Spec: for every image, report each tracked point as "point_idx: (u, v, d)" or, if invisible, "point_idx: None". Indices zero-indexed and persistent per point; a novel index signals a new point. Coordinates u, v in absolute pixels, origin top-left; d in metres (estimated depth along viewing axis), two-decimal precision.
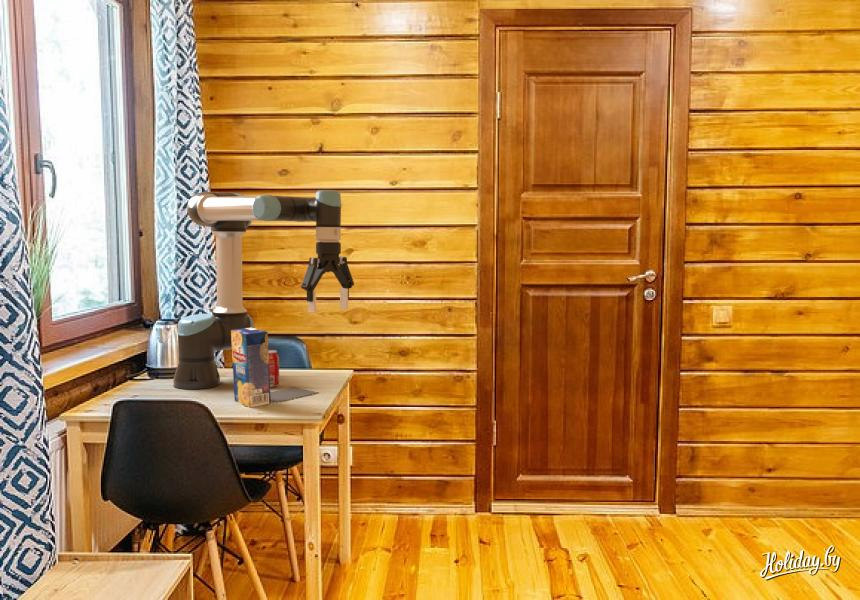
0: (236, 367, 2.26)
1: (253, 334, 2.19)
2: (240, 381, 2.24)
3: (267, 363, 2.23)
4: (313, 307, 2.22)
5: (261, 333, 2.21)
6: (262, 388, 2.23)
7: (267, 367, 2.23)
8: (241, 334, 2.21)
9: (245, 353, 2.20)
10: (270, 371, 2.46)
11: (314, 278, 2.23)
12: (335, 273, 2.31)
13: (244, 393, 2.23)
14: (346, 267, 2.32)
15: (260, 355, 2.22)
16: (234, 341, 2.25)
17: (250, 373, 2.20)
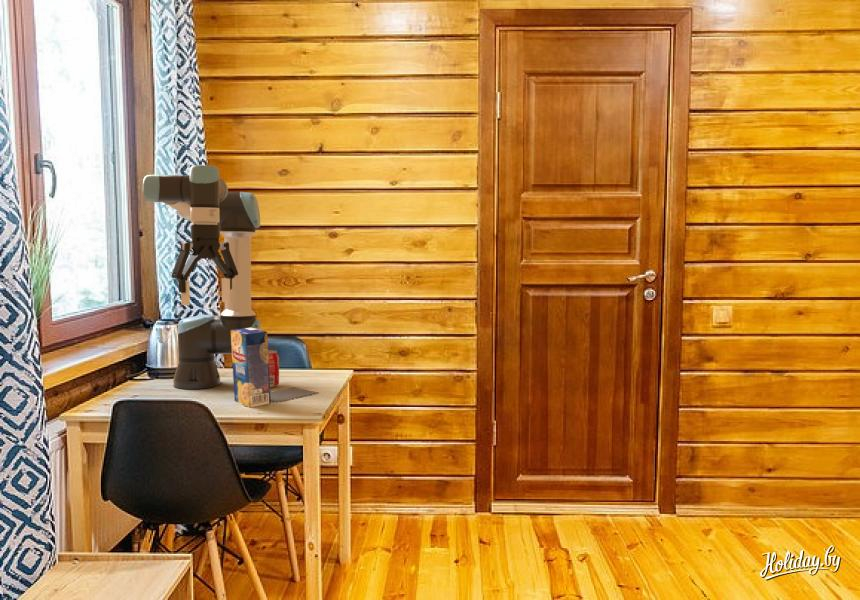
0: (236, 367, 2.26)
1: (253, 334, 2.19)
2: (240, 381, 2.24)
3: (267, 363, 2.23)
4: (186, 299, 1.96)
5: (261, 333, 2.21)
6: (262, 387, 2.23)
7: (267, 367, 2.23)
8: (241, 334, 2.21)
9: (245, 353, 2.20)
10: (270, 371, 2.46)
11: (187, 266, 1.96)
12: (215, 260, 2.04)
13: (244, 393, 2.23)
14: (228, 254, 2.05)
15: (260, 355, 2.22)
16: (234, 341, 2.25)
17: (250, 373, 2.20)
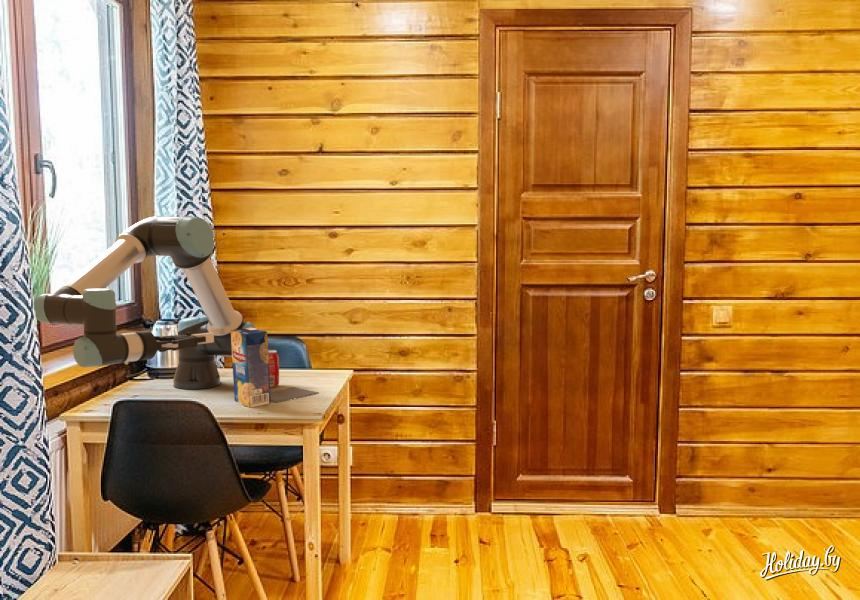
0: (236, 367, 2.26)
1: (253, 334, 2.19)
2: (240, 381, 2.24)
3: (267, 363, 2.23)
4: None
5: (261, 333, 2.21)
6: (262, 387, 2.23)
7: (267, 367, 2.23)
8: (241, 334, 2.21)
9: (245, 353, 2.20)
10: (270, 371, 2.46)
11: None
12: None
13: (244, 393, 2.23)
14: None
15: (260, 355, 2.22)
16: (234, 341, 2.25)
17: (250, 373, 2.20)
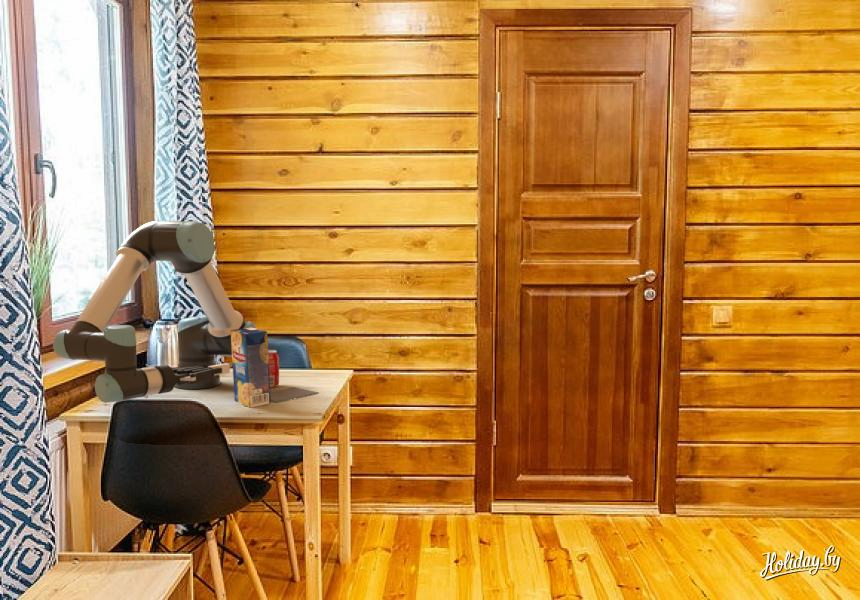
0: (236, 367, 2.26)
1: (253, 334, 2.19)
2: (240, 381, 2.24)
3: (267, 363, 2.23)
4: None
5: (261, 333, 2.21)
6: (262, 387, 2.23)
7: (267, 367, 2.23)
8: (241, 334, 2.21)
9: (245, 353, 2.20)
10: (270, 371, 2.46)
11: None
12: None
13: (244, 393, 2.23)
14: None
15: (260, 355, 2.22)
16: (234, 341, 2.25)
17: (250, 373, 2.20)
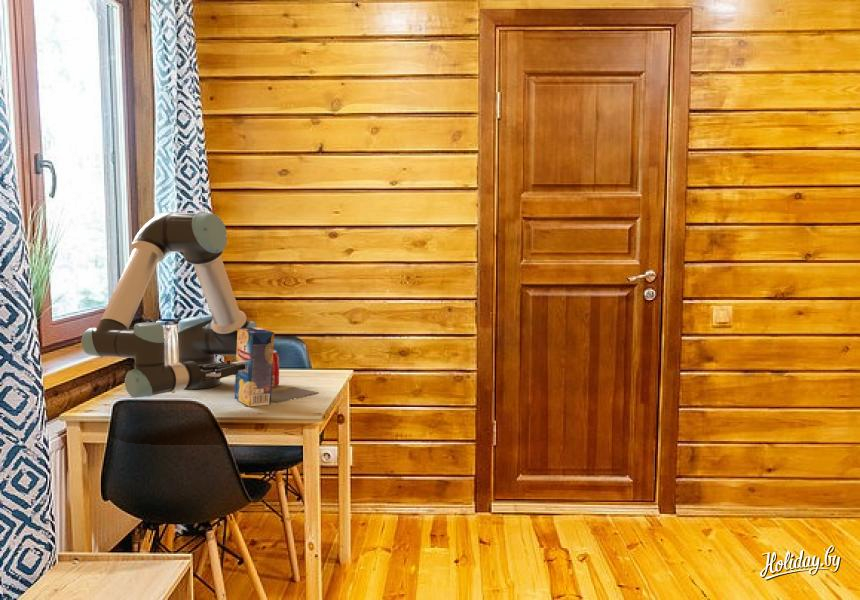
0: None
1: (260, 333, 2.20)
2: (242, 380, 2.24)
3: (271, 364, 2.24)
4: None
5: (268, 333, 2.22)
6: (264, 388, 2.23)
7: (270, 368, 2.24)
8: (248, 332, 2.21)
9: (250, 352, 2.20)
10: None
11: None
12: None
13: (245, 392, 2.23)
14: None
15: (265, 355, 2.22)
16: (240, 339, 2.26)
17: (253, 372, 2.20)
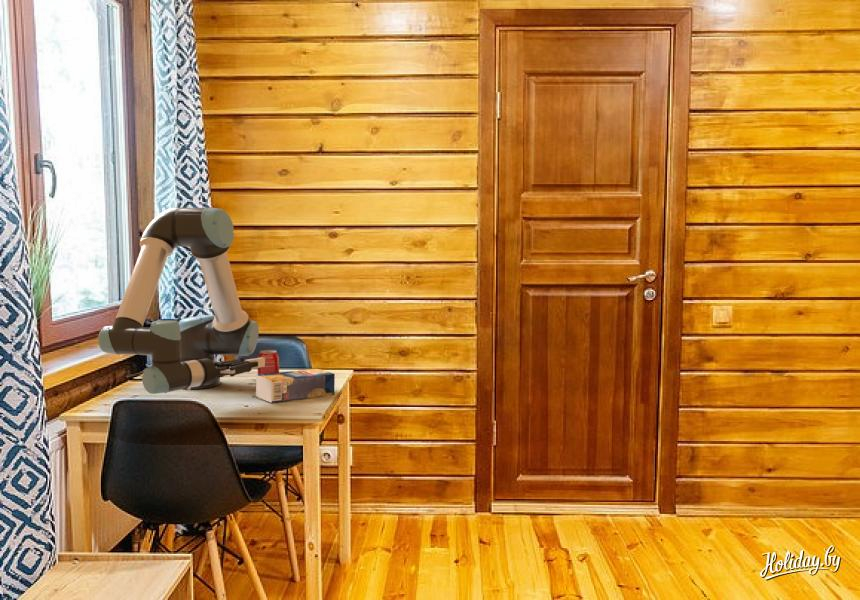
0: (291, 373, 2.38)
1: (333, 381, 2.38)
2: (283, 375, 2.33)
3: (307, 396, 2.33)
4: None
5: (333, 388, 2.39)
6: (286, 393, 2.28)
7: (304, 397, 2.32)
8: (328, 372, 2.41)
9: (316, 375, 2.36)
10: (270, 371, 2.46)
11: None
12: None
13: (277, 377, 2.30)
14: None
15: (315, 389, 2.35)
16: (312, 370, 2.43)
17: (301, 379, 2.31)
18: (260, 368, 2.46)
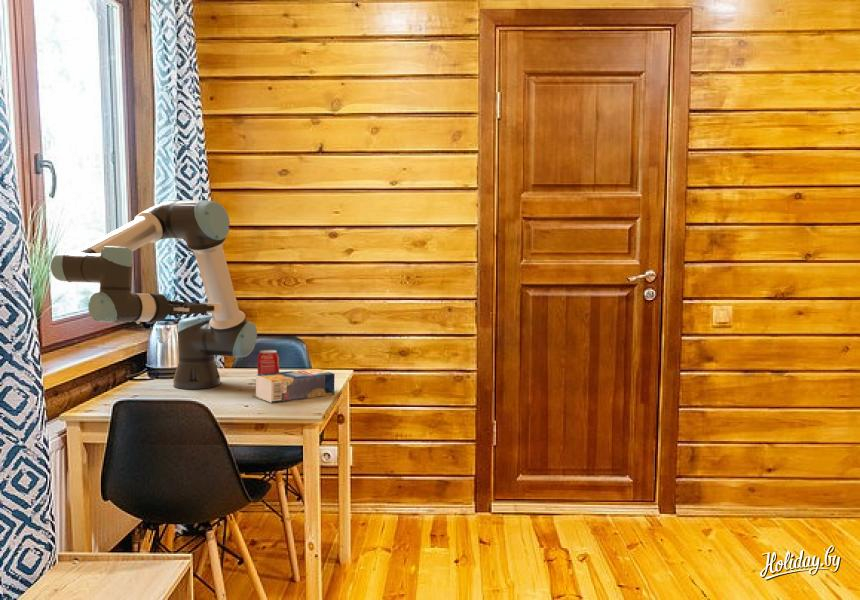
0: (290, 373, 2.38)
1: (333, 381, 2.38)
2: (283, 375, 2.33)
3: (307, 396, 2.33)
4: None
5: (333, 388, 2.39)
6: (286, 393, 2.28)
7: (304, 397, 2.32)
8: (328, 372, 2.41)
9: (316, 375, 2.36)
10: (270, 371, 2.46)
11: None
12: None
13: (277, 377, 2.30)
14: None
15: (315, 389, 2.35)
16: (312, 370, 2.43)
17: (301, 379, 2.31)
18: (260, 368, 2.46)
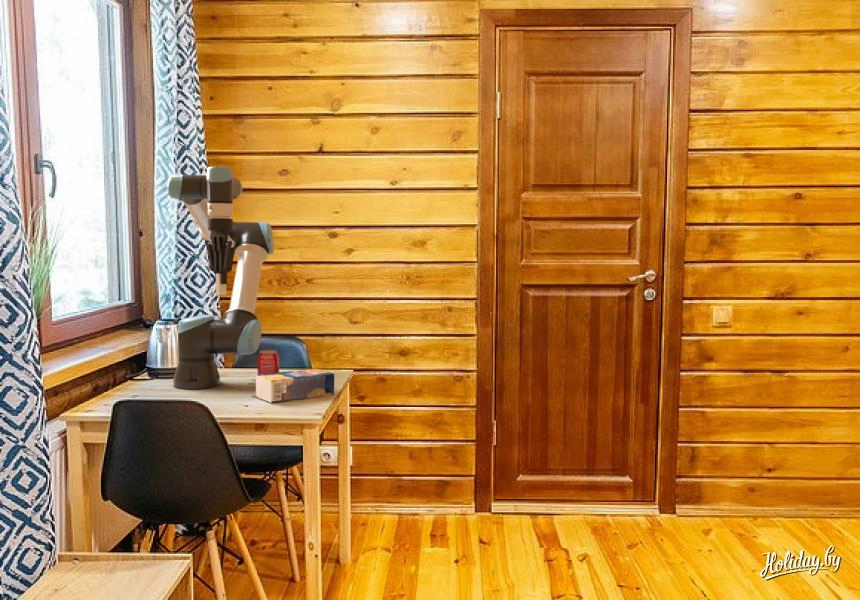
0: (290, 373, 2.38)
1: (333, 381, 2.38)
2: (283, 375, 2.33)
3: (307, 396, 2.33)
4: None
5: (333, 388, 2.39)
6: (286, 393, 2.28)
7: (304, 397, 2.32)
8: (328, 372, 2.41)
9: (316, 375, 2.36)
10: (270, 371, 2.46)
11: None
12: None
13: (277, 377, 2.30)
14: (226, 250, 2.25)
15: (315, 389, 2.35)
16: (312, 370, 2.43)
17: (301, 379, 2.31)
18: (260, 368, 2.46)
